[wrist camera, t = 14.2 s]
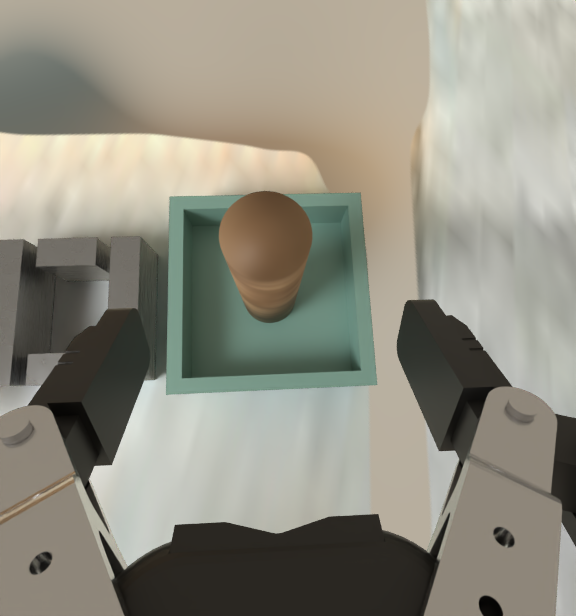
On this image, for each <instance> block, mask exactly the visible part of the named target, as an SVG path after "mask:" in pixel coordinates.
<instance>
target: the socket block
mask: <svg viewBox="0 0 576 616" xmlns="http://www.w3.org/2000/svg"><path fill="white" fill-rule="evenodd" d="M157 271H158V255H157V254H156V253H155V251H154V250H153V249H152V248H151V247H150V246H149V245H148V244H147V243H146V242H145V241H144V240H143V239H142V238H141V237H140V236H138V237H111V248H109V247H108V246H107V245H106V244H104V243H103V242H102V241H101V240H99V239H98V238H59V239H38V247H36V246H35V245H33V244H31V243H29V242H27V241H25V240H24V239H20V240H0V387H2V386H29V385H42V384H43V383H44V381H45V380H46V378H47V377H48V375H49V374H50V373H51V371H52V370H53V368H54V367H55V365H58V361H59V359H60V358H61V357H62V355H63V354H65V353H50V341H51V329H52V316H53V303H54V290H55V277H56V276H57V277H59V278H62V279H64V280H66V281H68V282H69V281H102V280H109V297H108V309H115V308H136V309H137V310H138V312H139V314H140V318H141V321H142V325H143V328H144V332H145V335H146V339H147V342H148V346H149V350H150V364H149V368H148V371H147V374H146V376H145V379H144V380H155V354H156V313H157Z"/></svg>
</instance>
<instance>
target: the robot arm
mask: <svg viewBox="0 0 576 616" xmlns="http://www.w3.org/2000/svg"><path fill="white" fill-rule="evenodd" d="M397 353H398V358H399V361H400V363H401V365H402V368H403V370H404V372H405V374H406V377H407V379H408V381H409V383H410V386H411V388H412V390H413V392H414V395H415V397H416V399H417V402H418V404H419V406H420V409H421V411H422V413H423V415H424V418H425V420H426V422H427V425H428V427H429V429H430V431H431V434H432V436H433V438H434V441H435V443H436V445H437V447H438V450H439V451H453V450H455V451H456V453H457V455H458V457H459V461H458V463H457V465H456V468H455V471H454V474H453V477H452V480H451V483H450V486H449V489H448V492H447V495H446V498H445V501H444V504H443V507H442V510H441V513H440V516H439V519H438V522H437V525H436V528H435V531H434V533H433V536H432V538H431V541H430V543H429V546H428V549H427V551H426V550H424V549H423V548H421V547H420V546H418V545H417V544H415V543H413V542H411V541H409V540H408V539H406V538H404V537H401V536H399V535H396V534H394V533H391V532H388V531H383V530H382V528H381V524H380V520H379V515H378V514H372V515H353V516H334V517H327V518H324V519H321V520H318V521H315V522H312V523H310V524H307V525H304V526H301V527H298V528H295V529H292V530H289V531H286V532H283V533H278V534H275V533H270V532H266V531H261V530H257V529H253V528H248V527H244V526H240V525H235V524H231V523H227V522H220V523H201V524H182V525H175V527H174V532H173V537H172V542H169V543H166V544H164V545H162V546H160V547H158V548H155V549H153V550H152V551H150V552H148V553H147V554H145V555H143V556H142V557H140V558H139V559H137V560H136V561H135V562H133V563H132V564H131V565H130V566H128V567H127V564H126V562H125V560H124V558H123V556H122V554H121V552H120V550H119V548H118V546H117V544H116V541H115V539H114V537H113V534H112V532H111V529H110V527H109V524H108V522H107V520H106V517H105V515H104V512H103V510H102V507H101V505H100V502H99V500H98V498H97V495H96V493H95V490H94V488H93V485H92V483H91V481H90V479H89V477H90V475H91V473H92V470H93V468H94V466H100V465H112V463H113V460H114V458H115V455H116V452H117V450H118V447H119V444H120V442H121V439H122V437H123V434H124V431H125V429H126V426H127V423H128V421H129V418H130V416H131V413H132V410H133V408H134V405H135V402H136V400H137V397H138V395H139V392H140V389H141V387H142V384H143V381H144V379H145V376H146V374H147V371H148V368H149V364H150V350H149V346H148V342H147V339H146V335H145V332H144V328H143V325H142V321H141V318H140V314H139V312H138V310H137V309H136V308H115V309H107V310H106V311H105V313H104V314H103V316H102V317H101V319H100V321H99V322H98V324H97V325H96V326H89V327H88V328H87V329H85V330H84V331H83V332H81V333H80V334H79V335H78V336H76V337H75V338H74V339H73V341H72V342H71V343H70V345H69V346H68V348H67V349H66V351H65V354H63V355H62V357H61V358H60V359H59V361H58V365H55V367H54V368H53V370H52V371H51V373H50V374H49V375H48V377H47V378H46V380H45V381H44V383H43V384H42V386H41V387H40V389H39V390H38V391H37V393H36V394H35V396H34V397H33V399H32V400H31V402H30V403H29V405H28V406H25V407H21V408H18V409H15V410H13V411H10V412H8V413H6V414H4V415H3V416H1V417H0V616H555V613H556V597H557V582H558V567H559V551H560V536H561V522H562V523H563V525H564V527H565V529H566V530H567V532H568V534H569V536H570V537H571V539H572V541H573V543H574V544H575V546H576V418H572V417H567V416H562V415H558V414H554V412H553V410H552V409H551V408H550V407H549V406H548V405H547V404H546V403H545V402H544V401H543V400H542V399H540V398H539V397H537V396H535V395H534V394H532V393H530V392H527V391H525V390H522V389H519V388H515V387H512V386H511V384H510V383H509V382H508V380H507V379H506V378H505V376H504V375H503V374H502V372H501V371H500V370H499V368H498V367H497V366H496V364H495V363H494V362H493V360H492V359H491V358H490V356H489V355H488V354H487V352H486V351H484V350H483V347H482V346H481V344H480V343H479V342H478V340H476V338H475V336H474V335H473V334H472V332H471V331H470V330H469V328H468V327H467V326H466V325H465V324H463V323H462V322H461V321H459V320H458V319H456V318H455V317H454V316H452V315H448V316H446V315H445V314H444V312H443V311H442V309H441V308H440V307H439V305H438V304H437V302H436V301H435V300H408V301H407V302H406V304H405V306H404V311H403V316H402V320H401V325H400V330H399V334H398V339H397Z"/></svg>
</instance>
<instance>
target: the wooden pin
mask: <svg viewBox="0 0 576 616" xmlns="http://www.w3.org/2000/svg"><path fill="white" fill-rule="evenodd" d="M219 242H220V247H221V250H222V252H223V255H224V257H225V260H226V262H227V264H228V267H229V269H230V271H231V274H232V276H233V279H234V281H235V283H236V286H237V288H238V290H239V293H240V295H241V297H242V300H243V302H244V305H245V307H246V309H247V311H248V312H249V314H250V315H251V316H252V317H253V318H255V319H256V320H258V321H261V322H264V323H275V322H278V321H281V320H283V319H284V318H286V317H287V316H288V315H289V314H290V312H291V311H292V309H293V307H294V304H295V300H296V297H297V293H298V290H299V287H300V283H301V280H302V276H303V273H304V269H305V266H306V262H307V259H308V255H309V252H310V248H311V245H312V227H311V223H310V220H309V218H308V216H307V214H306V212H305V211H304V210H303V208H302V207H301V206H300V205H299V204H298V203H297V202H295V201H294V200H293V199H291V198H289V197H288V196H285V195H283V194H280V193H276V192H270V191H262V192H255V193H251V194H248V195H246V196H244V197H242V198H240V199H239V200H237V201H236V202H235V203H233V204H232V205H231V206H230V207H229V209H228V210H227V211H226V213H225V214H224V216H223V218H222V221H221V224H220V229H219Z"/></svg>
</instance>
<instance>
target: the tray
mask: <svg viewBox="0 0 576 616" xmlns="http://www.w3.org/2000/svg"><path fill="white" fill-rule="evenodd" d="M283 195H285V196H288V197H289V198H291V199H293V200H294V201H295V202H297V203H298V204H299V205H300V206H301V207H302V208H303V210H304V211H305V212H306V214H307V216H308V218H309V220H310V223H311V227H312V245H311V248H310V252H309V255H308V259H307V262H306V266H305V269H304V273H303V276H302V280H301V283H300V287H299V290H298V293H297V297H296V300H295V304H294V307H293V309H292V311H291V312H290V314H289V315H288V316H287V317H286V318H284V319H283V320H281V321H278V322H275V323H264V322H261V321H258V320H256V319H255V318H253V317H252V316H251V315H250V314H249V312H248V311H247V309H246V307H245V305H244V302H243V300H242V297H241V295H240V293H239V290H238V288H237V286H236V283H235V281H234V279H233V276H232V274H231V271H230V269H229V267H228V264H227V262H226V260H225V257H224V255H223V252H222V250H221V247H220V242H219V229H220V224H221V221H222V218H223V216H224V214H225V213H226V211H227V210H228V209H229V207H230V206H231V205H232V204H233V203H235V202H236V201H237V200H239V199H240V198H242V197H244V196H246V195H224V196H175V197H170V205H169V261H168V316H167V371H166V395H169V394H191V393H213V392H235V391H257V390H279V389H300V388H322V387H344V386H366V385H377V377H376V365H375V355H374V354H375V353H374V342H373V331H372V319H371V307H370V296H369V284H368V273H367V261H366V250H365V238H364V227H363V215H362V204H361V194H360V193H323V194H283Z"/></svg>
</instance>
